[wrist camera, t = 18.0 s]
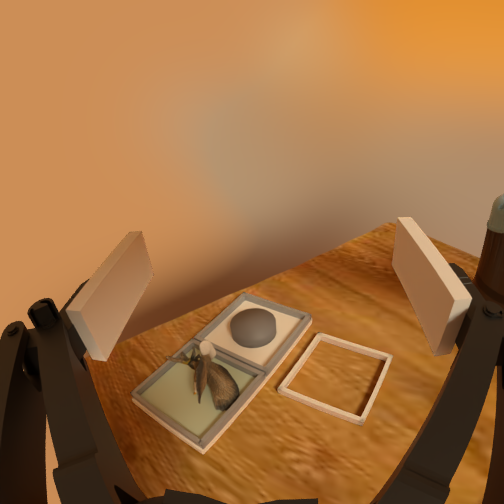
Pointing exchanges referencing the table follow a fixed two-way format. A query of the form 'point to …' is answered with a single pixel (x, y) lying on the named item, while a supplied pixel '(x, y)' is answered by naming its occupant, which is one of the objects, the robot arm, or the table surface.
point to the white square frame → (324, 407)
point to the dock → (230, 357)
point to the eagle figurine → (210, 376)
